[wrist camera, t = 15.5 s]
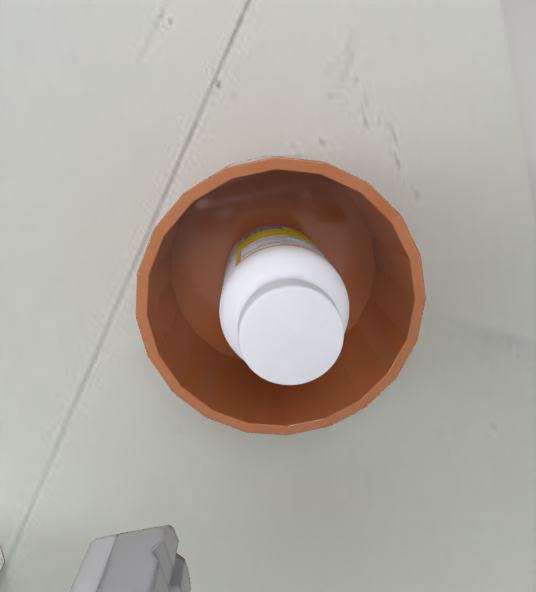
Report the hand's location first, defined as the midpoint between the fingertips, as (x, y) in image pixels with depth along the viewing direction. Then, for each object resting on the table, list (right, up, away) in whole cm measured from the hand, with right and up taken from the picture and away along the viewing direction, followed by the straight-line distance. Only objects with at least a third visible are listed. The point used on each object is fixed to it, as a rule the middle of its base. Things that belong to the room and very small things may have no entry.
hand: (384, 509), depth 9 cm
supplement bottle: (-2, +6, +24) cm, 25 cm away
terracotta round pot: (-2, +6, +25) cm, 26 cm away
